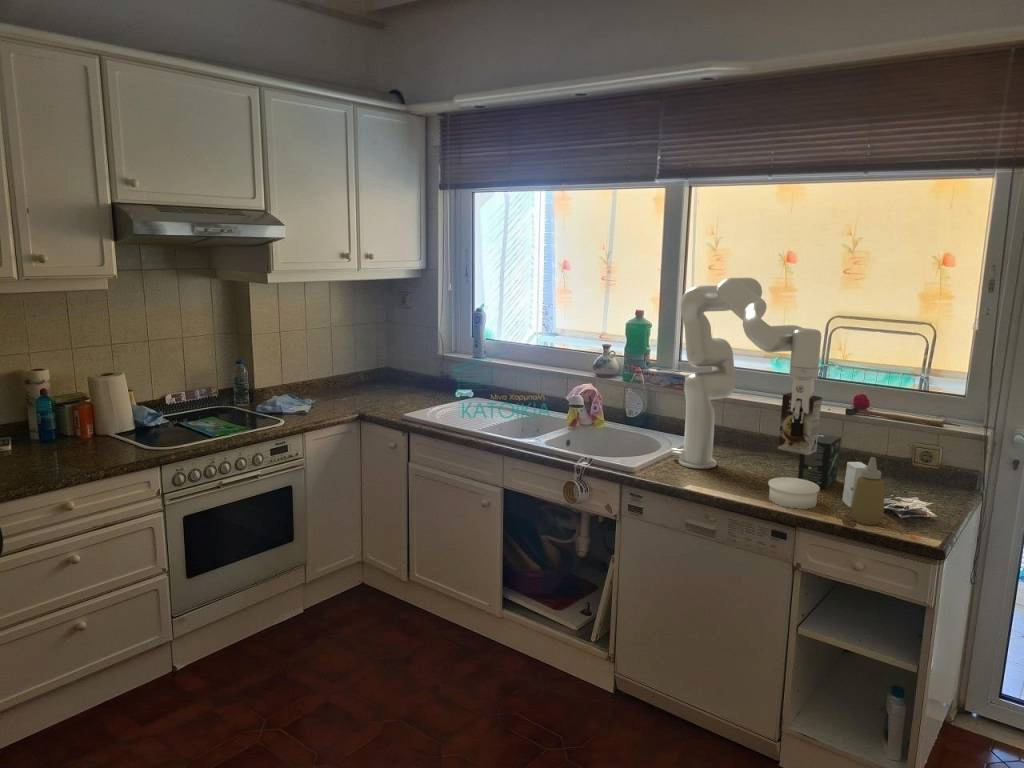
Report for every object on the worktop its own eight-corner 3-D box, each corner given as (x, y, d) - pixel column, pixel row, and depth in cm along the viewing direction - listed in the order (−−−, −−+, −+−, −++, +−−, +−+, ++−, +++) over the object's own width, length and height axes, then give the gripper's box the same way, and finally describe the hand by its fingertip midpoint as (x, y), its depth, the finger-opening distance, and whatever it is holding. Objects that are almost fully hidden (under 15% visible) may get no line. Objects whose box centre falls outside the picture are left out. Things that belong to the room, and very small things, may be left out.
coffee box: (777, 449, 215) (781, 394, 212) (786, 445, 220) (790, 391, 217) (808, 455, 209) (813, 399, 206) (817, 451, 214) (822, 396, 211)
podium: (763, 504, 215) (764, 487, 214) (771, 490, 227) (772, 474, 226) (814, 512, 208) (816, 495, 207) (820, 498, 220) (822, 482, 219)
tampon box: (807, 475, 243) (811, 431, 240) (837, 481, 237) (841, 436, 234) (796, 483, 234) (800, 438, 231) (826, 489, 228) (830, 443, 226)
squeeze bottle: (887, 522, 202) (894, 458, 199) (875, 529, 197) (883, 464, 193) (856, 514, 208) (863, 451, 204) (844, 521, 202) (851, 457, 199)
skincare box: (841, 501, 218) (845, 461, 216) (856, 501, 218) (861, 461, 216) (850, 508, 212) (854, 467, 210) (866, 508, 212) (870, 467, 210)
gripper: (814, 378, 201) (808, 442, 204) (821, 369, 216) (816, 428, 219) (784, 375, 205) (779, 438, 208) (794, 367, 220) (789, 425, 223)
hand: (798, 433), depth 214 cm, fingers closed on coffee box, 7 cm apart
